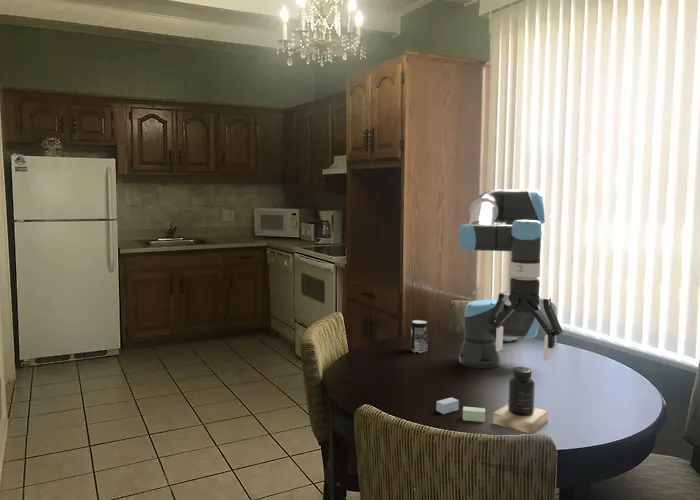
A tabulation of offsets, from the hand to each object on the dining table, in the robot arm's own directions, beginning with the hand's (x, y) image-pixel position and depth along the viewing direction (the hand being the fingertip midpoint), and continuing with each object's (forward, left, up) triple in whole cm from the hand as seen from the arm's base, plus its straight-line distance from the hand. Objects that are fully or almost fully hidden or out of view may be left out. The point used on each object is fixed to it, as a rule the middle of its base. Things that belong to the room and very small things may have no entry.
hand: (522, 354), depth 156 cm
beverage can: (-61, +43, -19) cm, 77 cm away
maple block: (0, 0, -19) cm, 19 cm away
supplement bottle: (0, 0, -16) cm, 16 cm away
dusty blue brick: (-20, -5, -19) cm, 28 cm away
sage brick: (-11, -6, -19) cm, 23 cm away
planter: (-43, +83, -19) cm, 95 cm away
